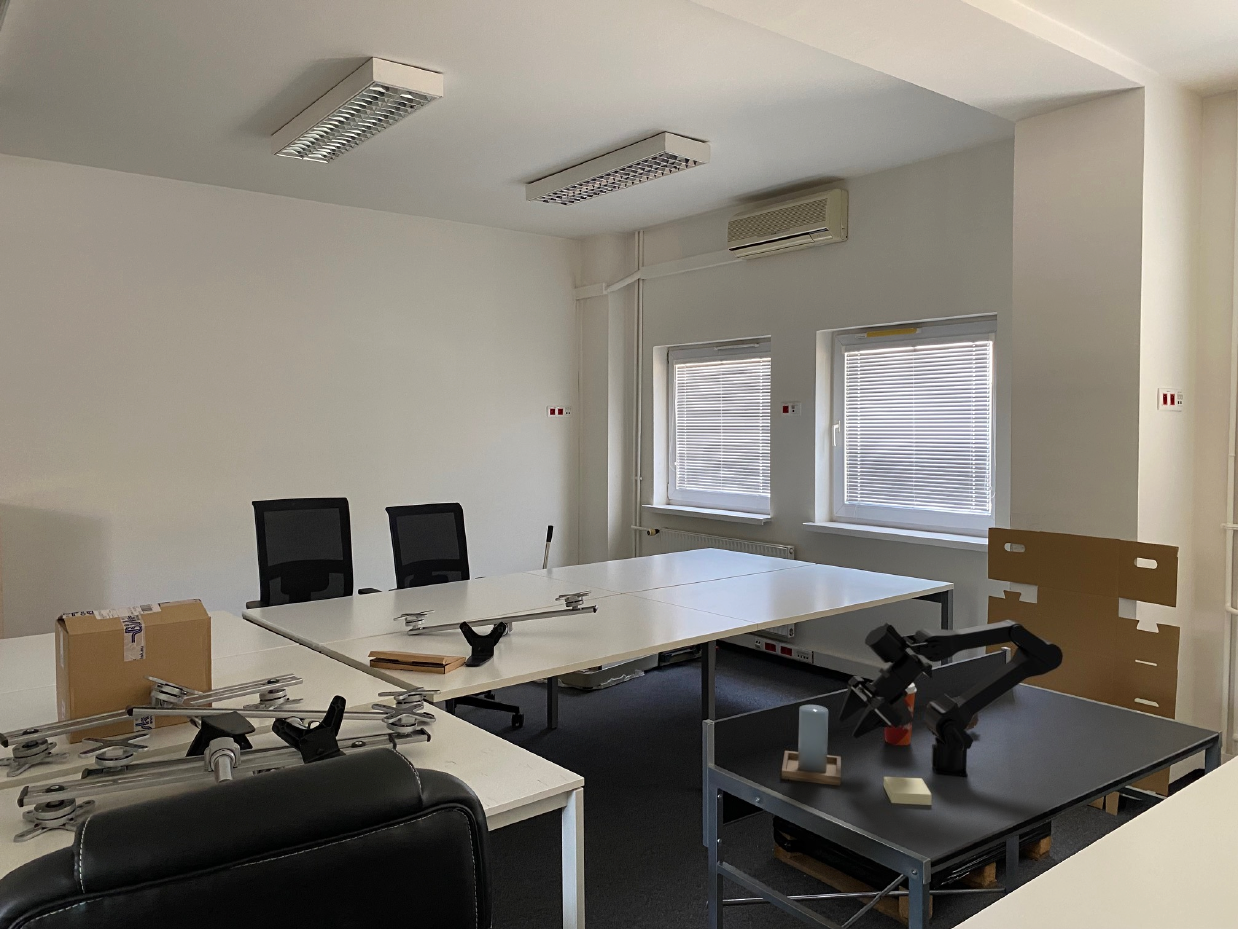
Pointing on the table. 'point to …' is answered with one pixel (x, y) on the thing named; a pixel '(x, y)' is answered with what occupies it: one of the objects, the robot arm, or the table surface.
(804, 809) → the table surface
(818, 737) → the pale blue cylinder
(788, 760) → the tray
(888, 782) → the sticky note pad
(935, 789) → the table surface
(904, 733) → the paper cup
